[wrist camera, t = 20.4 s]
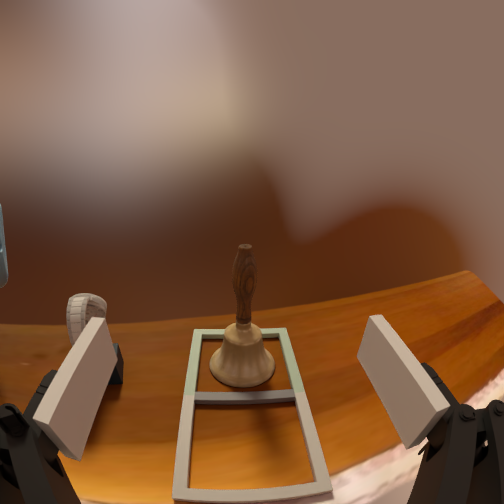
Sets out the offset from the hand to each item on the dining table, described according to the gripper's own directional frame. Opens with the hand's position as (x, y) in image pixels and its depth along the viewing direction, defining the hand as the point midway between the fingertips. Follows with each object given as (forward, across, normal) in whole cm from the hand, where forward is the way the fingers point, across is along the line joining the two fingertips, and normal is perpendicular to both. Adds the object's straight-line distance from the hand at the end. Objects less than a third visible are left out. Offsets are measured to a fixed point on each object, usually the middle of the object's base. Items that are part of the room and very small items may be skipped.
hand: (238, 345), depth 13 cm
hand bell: (+16, +1, -17) cm, 23 cm away
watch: (+13, -17, -17) cm, 27 cm away
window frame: (+9, +1, -16) cm, 19 cm away
